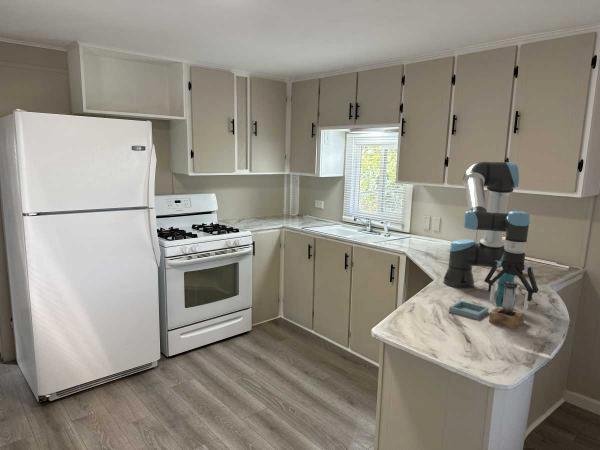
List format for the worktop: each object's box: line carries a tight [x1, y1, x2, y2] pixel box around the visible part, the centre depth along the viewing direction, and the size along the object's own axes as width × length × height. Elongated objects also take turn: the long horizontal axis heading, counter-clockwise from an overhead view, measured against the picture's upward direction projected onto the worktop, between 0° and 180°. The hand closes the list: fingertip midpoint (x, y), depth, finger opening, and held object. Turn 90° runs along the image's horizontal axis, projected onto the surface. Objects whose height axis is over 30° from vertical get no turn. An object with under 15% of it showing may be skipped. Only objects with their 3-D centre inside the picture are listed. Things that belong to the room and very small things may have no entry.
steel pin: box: [502, 281, 518, 316], centre depth 169 cm, size 5×5×16 cm
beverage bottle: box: [494, 273, 516, 307], centre depth 187 cm, size 6×7×20 cm
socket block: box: [488, 306, 525, 330], centre depth 170 cm, size 10×10×5 cm
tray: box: [448, 300, 490, 320], centre depth 180 cm, size 12×12×3 cm
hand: (508, 304), depth 169 cm, fingers open, 12 cm apart
